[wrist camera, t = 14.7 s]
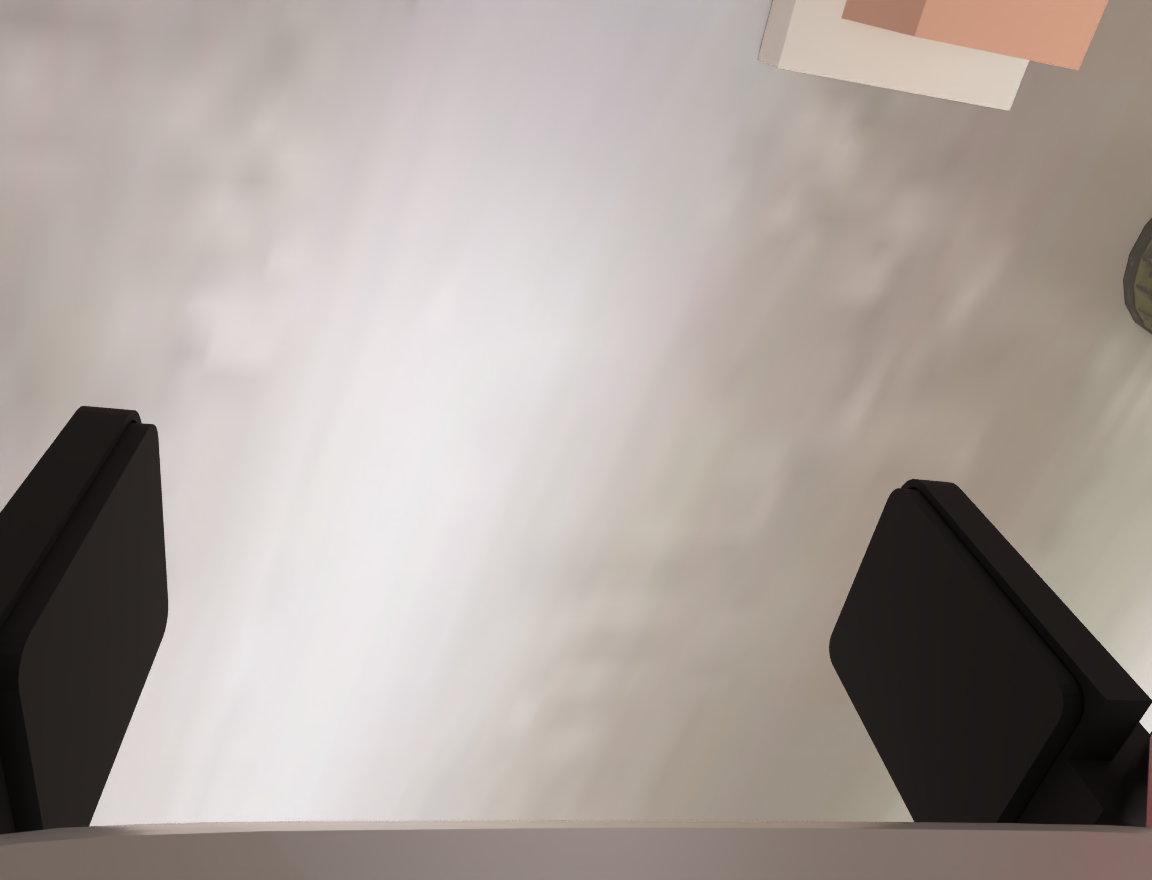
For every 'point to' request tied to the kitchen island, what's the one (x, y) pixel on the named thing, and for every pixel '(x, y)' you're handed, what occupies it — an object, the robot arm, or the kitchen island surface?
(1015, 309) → the kitchen island surface
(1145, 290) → the thermos
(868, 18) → the cube
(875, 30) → the block
